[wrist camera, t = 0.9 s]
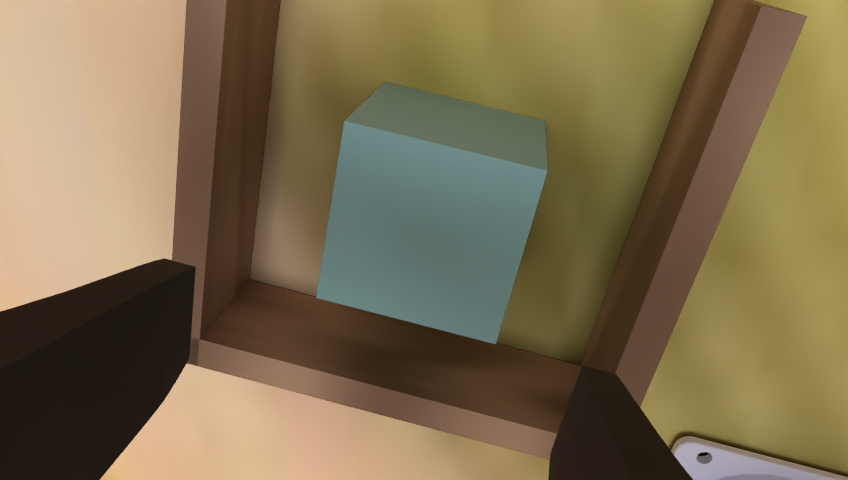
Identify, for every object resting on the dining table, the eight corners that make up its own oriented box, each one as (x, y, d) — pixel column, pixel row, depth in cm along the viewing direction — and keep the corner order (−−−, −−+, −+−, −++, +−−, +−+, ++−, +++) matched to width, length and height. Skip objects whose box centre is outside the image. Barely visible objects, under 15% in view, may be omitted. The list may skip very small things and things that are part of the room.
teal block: (545, 119, 21) (547, 170, 16) (503, 263, 23) (495, 344, 18) (385, 81, 21) (344, 120, 17) (358, 227, 23) (315, 297, 19)
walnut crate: (754, 1, 19) (807, 16, 15) (599, 395, 24) (610, 475, 21) (258, -114, 19) (194, -126, 16) (219, 296, 25) (166, 357, 21)
